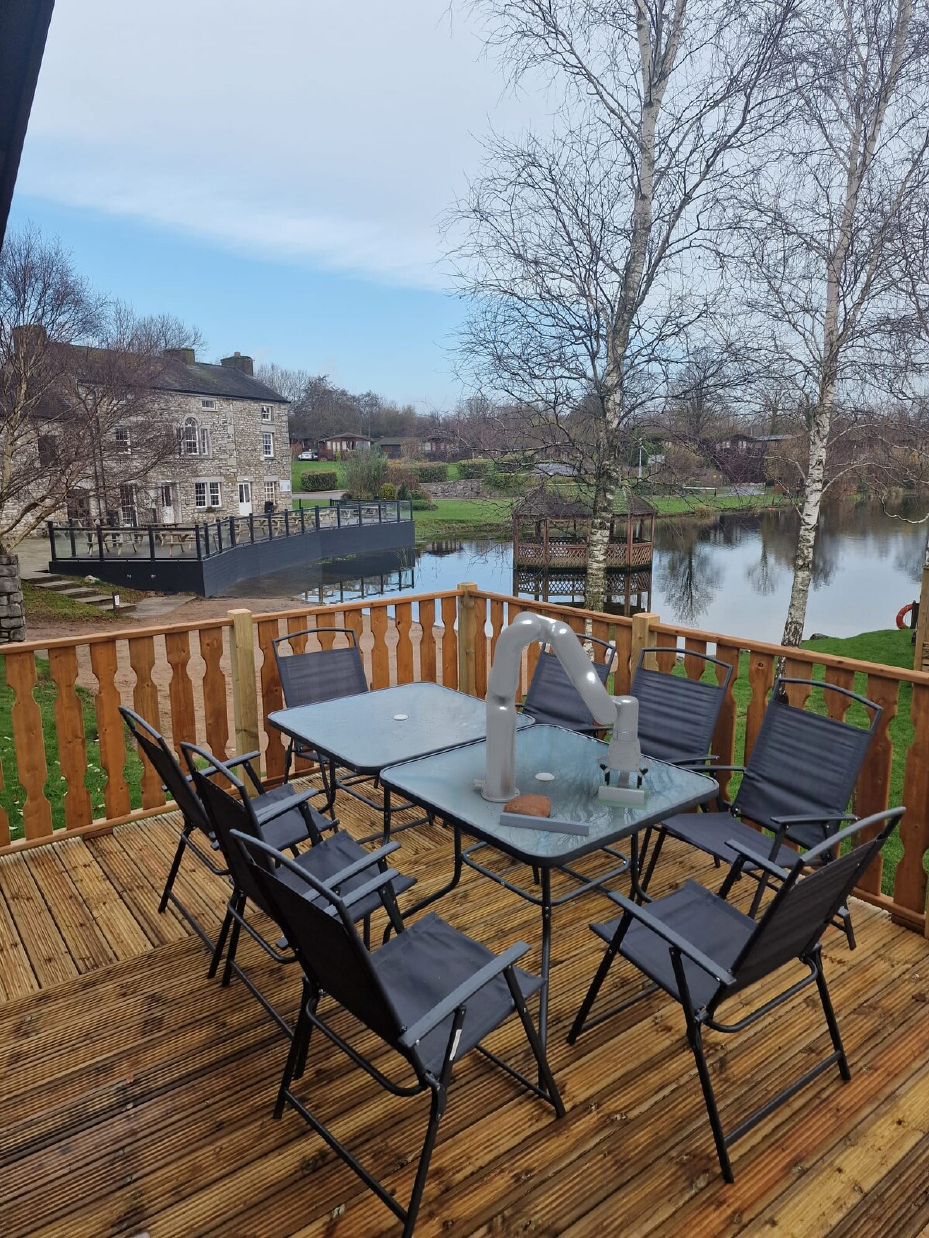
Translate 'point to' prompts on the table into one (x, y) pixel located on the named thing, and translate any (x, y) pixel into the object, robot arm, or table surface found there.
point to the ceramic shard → (529, 806)
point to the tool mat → (623, 804)
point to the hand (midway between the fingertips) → (623, 785)
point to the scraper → (622, 791)
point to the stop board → (544, 823)
